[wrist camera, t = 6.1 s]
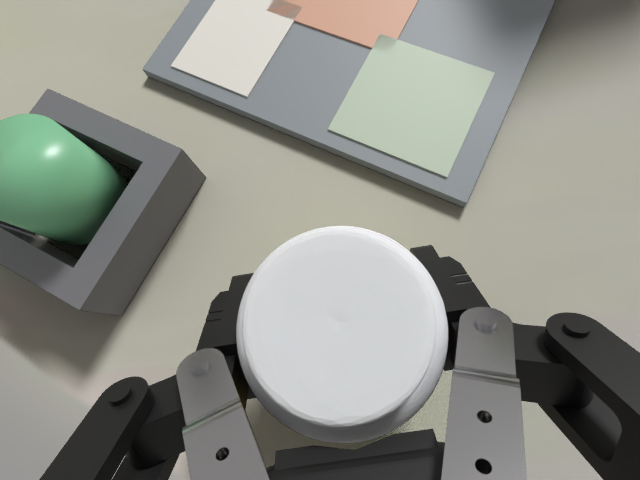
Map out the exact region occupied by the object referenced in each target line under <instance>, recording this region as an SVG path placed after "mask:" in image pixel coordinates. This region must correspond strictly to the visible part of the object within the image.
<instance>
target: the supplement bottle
mask: <svg viewBox="0 0 640 480" xmlns="http://www.w3.org/2000/svg"><path fill="white" fill-rule="evenodd" d="M236 341H237V351H238V356H239V360H240V364H241V367H242V370H243V373H244V375H245V378H246V380H247V382H248V384H249V386H250V388H251V389H252V391H253V393H254V395H255V396H256V397H257V399H258V400H259V401H260V403H261V404H262V405H263V406H264V407H265V409H266V410H267V411H268V412H269V413H270V414H272V415H273V416H274V417H275V418H276V419H277V420H278V421H279V422H281V423H282V424H284V425H285V426H287V427H288V428H290V429H292V430H294V431H296V432H298V433H300V434H302V435H304V436H307V437H309V438H312V439H316V440H319V441H324V442H331V443H355V442H362V441H368V440H371V439H375V438H378V437H380V436H382V435H385V434H387V433H389V432H391V431H393V430H395V429H396V428H398V427H400V426H401V425H403V424H404V423H405V422H407V421H408V420H409V419H410V418H412V417H413V416H414V415H415V414H416V413H417V412H418V411H419V410H420V409H421V408H422V407H423V405H424V404H425V403H426V401H427V400H428V399H429V397H430V396H431V394H432V393H433V391H434V389H435V387H436V385H437V383H438V381H439V379H440V376H441V374H442V371H443V368H444V365H445V360H446V355H447V349H448V322H447V316H446V311H445V307H444V303H443V300H442V297H441V295H440V293H439V290H438V288H437V286H436V284H435V282H434V280H433V279H432V277H431V275H430V274H429V272H428V271H427V270H426V268H425V267H424V266H423V264H422V263H421V262H420V261H419V260H418V259H417V258H416V257H415V256H414V255H413V254H412V253H411V252H410V251H408V250H407V249H406V248H404V247H403V246H402V245H401V244H399V243H397V242H396V241H394V240H393V239H391V238H389V237H387V236H385V235H382V234H380V233H377V232H374V231H372V230H368V229H364V228H359V227H352V226H330V227H324V228H318V229H314V230H311V231H308V232H305V233H302V234H300V235H298V236H296V237H294V238H292V239H290V240H288V241H287V242H285V243H284V244H282V245H281V246H279V247H278V248H277V249H275V250H274V251H273V252H272V253H271V254H270V255H269V256H268V257H267V258H266V259H265V260H264V261H263V262H262V263H261V264H260V266H259V267H258V268H257V270H256V271H255V272H254V274H253V276H252V277H251V279H250V281H249V283H248V285H247V287H246V289H245V292H244V294H243V297H242V300H241V303H240V307H239V312H238V317H237V325H236Z"/></svg>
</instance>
